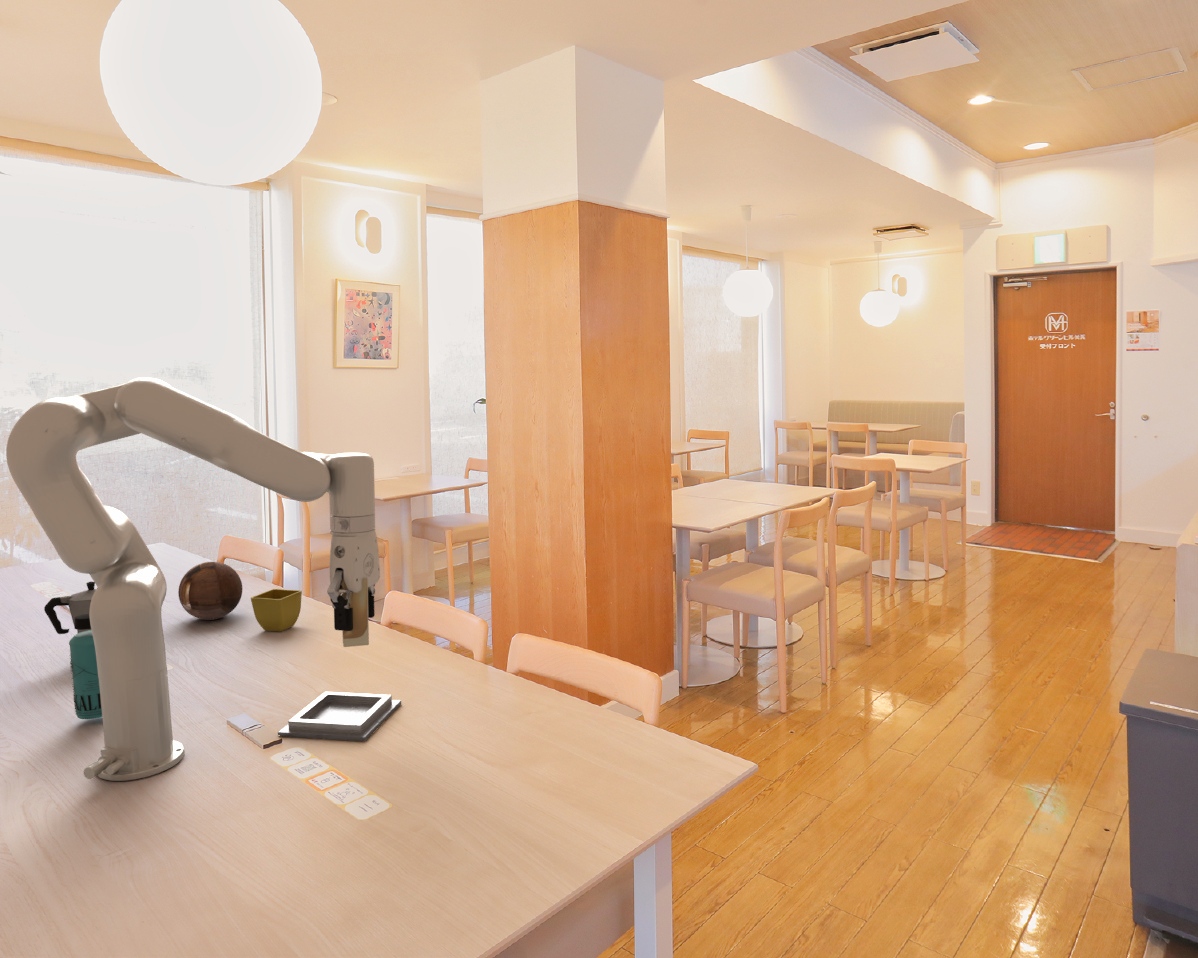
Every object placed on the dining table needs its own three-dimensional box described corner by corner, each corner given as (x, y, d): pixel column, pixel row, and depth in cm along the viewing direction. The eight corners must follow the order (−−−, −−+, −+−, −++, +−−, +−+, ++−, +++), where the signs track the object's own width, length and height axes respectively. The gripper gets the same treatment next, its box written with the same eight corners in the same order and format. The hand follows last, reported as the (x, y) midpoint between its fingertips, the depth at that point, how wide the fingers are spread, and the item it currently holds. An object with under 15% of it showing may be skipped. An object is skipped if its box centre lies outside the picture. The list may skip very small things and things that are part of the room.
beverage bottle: (109, 709, 152) (99, 607, 150) (123, 719, 148) (114, 613, 145) (70, 721, 147) (59, 615, 145) (83, 731, 143) (73, 622, 140)
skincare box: (342, 636, 144) (340, 570, 143) (367, 634, 146) (366, 568, 144) (343, 648, 138) (341, 578, 137) (369, 645, 140) (367, 577, 138)
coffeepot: (127, 648, 187) (121, 573, 185) (135, 659, 180) (128, 580, 178) (48, 663, 177) (40, 584, 175) (52, 675, 170) (44, 593, 168)
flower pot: (251, 632, 198) (249, 597, 197) (275, 622, 206) (273, 588, 205) (281, 635, 195) (279, 599, 194) (304, 624, 204) (302, 590, 203)
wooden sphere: (234, 606, 220) (231, 553, 219) (251, 619, 209) (248, 562, 207) (174, 617, 211) (170, 561, 209) (188, 631, 200) (184, 572, 198)
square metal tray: (364, 741, 138) (364, 728, 137) (278, 736, 140) (277, 723, 140) (401, 704, 153) (400, 692, 153) (322, 700, 156) (322, 688, 155)
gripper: (348, 534, 130) (351, 640, 132) (394, 517, 147) (396, 611, 149) (306, 532, 132) (309, 636, 134) (356, 515, 149) (358, 608, 151)
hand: (355, 622), depth 142 cm, fingers closed on skincare box, 7 cm apart
